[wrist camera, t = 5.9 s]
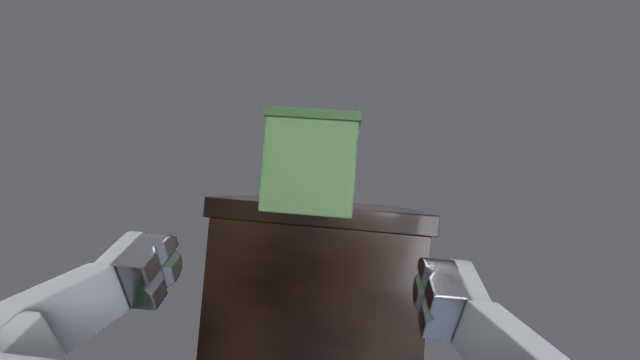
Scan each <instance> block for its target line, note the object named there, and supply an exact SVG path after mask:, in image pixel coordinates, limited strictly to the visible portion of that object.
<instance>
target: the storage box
mask: <svg viewBox="0 0 640 360" xmlns="http://www.w3.org/2000/svg"><path fill="white" fill-rule="evenodd" d="M263 114H264V116H265V117H266V123H265V135H264V148H263V159H262V170H261V183H260V193H259V205H258V210H259V211H263V212H275V213H287V214H299V215H311V216H323V217H335V218H347V219H351V218H352V213H353V198H354V186H355V172H356V158H357V143H358V131H359V127H360V125H361V121H362V112H358V111H341V110H325V109H308V108H290V107H274V106H264V111H263Z"/></svg>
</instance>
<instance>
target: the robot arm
mask: <svg viewBox="0 0 640 360" xmlns="http://www.w3.org/2000/svg"><path fill="white" fill-rule="evenodd" d="M177 246H178V242H177V239H176V237H175V236H172V235H164V234H156V233H146V232H145V233H144V232H135V231H130V232H127V233H126V234H124V235H123V236H122V237H121V238H120V239H119V240H118V241H117V242H116V243H115V244H114V245H112V246H111V247H110V248H109V249H108V250H107V251H106V252H105V253H104V254H103V255H102V256H100V257H99V258H98V259H97V260H96V261H95V262H94V263H93V264H91V263H87V264H85V265H83V266H81V267H78V268H76V269H74V270H71V271H69V272H67V273H64V274H62V275H60V276H58V277H55V278H53V279H51V280H49V281H46V282H44V283H42V284H40V285H37V286H35V287H32V288H30V289H28V290H26V291H24V292H21V293H19V294H16V295H14V296H12V297H10V298H7V299H5V300H3V301H1V302H0V360H68V358H67V356H66V355H67V354H69V353H70V352H72V351H73V350H74V349H76V348H77V347H79V346H80V345H81V344H83V343H84V342H86V341H87V340H88V339H90V338H91V337H92V336H94V335H95V334H97V333H98V332H100V331H101V330H103V329H104V328H105V327H107V326H108V325H110V324H111V323H112V322H114V321H115V320H117V319H118V318H119V317H121V316H122V315H124V314H125V313H126V312H128V311H129V310H130V308H132V309H145V310H157V308H158V307H159V305H160V304H161V302H162V301H163V300H164V298H165V297H166V295H167V287H169V286H171V285H172V284H174V283H175V282H176V280H177V279H178V277H179V275H180V272H181V269H182V258H181V255H180V254H179V253H178V252H177V251H176V250H175V249H176V248H177ZM417 268H418V272H419V274H418V275H416V276H415V277H414V282H413V301H414V306H415V307H416V309H417V310H418V311H419V315H418V324H419V328H420V332H421V337H422V339H429V340H437V341H444V342H451V345H452V346H453V347H454V348H455V350H456V351H457V352H458V353H459V355H460V356H461V357H462V358H463V359H464V360H570V359H569V358H567V357H566V356H565V355H564V354H562V353H561V352H560V351H559V350H557V349H556V348H555V347H553V346H552V345H551V344H549V343H548V342H547V341H546V340H544V339H543V338H542V337H541V336H539V335H538V334H537V333H535V332H534V331H533V330H532V329H530V328H529V327H528V326H526V325H525V324H524V323H523V322H521V321H520V320H519V319H518V318H516V317H515V316H514V315H512V314H511V313H510V312H508V311H507V310H506V309H505V308H503V307H502V306H501V305H499V304H498V303H494V302H492V301H491V299H490V297H489V295H488V293H487V291H486V289H485V287H484V286H483V284H482V281H481V280H480V278H479V276H478V274H477V272H476V270H475V268H474V266H473V264H472V262H470V261H468V260H449V259H437V258H425V257H420V259H419V261H418V265H417Z"/></svg>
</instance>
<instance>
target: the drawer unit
mask: <svg viewBox="0 0 640 360" xmlns="http://www.w3.org/2000/svg"><path fill="white" fill-rule="evenodd" d="M258 205H259V196H223V197H222V196H221V197H205V203H204V213H203V217H209V218H210V219H209V230H208V240H207V251H206V262H205V272H204V273H205V274H204V283H203V295H202V306H201V316H200V327H199V338H198V349H197V359H196V360H423V359H424V344H425V339H422V337H421V332H420V328H419V324H418V315H419V311H418V310H417V309H416V307H415V306H414V301H413V282H414V277H415V276H416V275H418V274H419V272H418V268H417V265H418V261H419V259H420V257H425V258H430V248H431V237H438V236H439V220H440V217H439V216H437V215H433V214H429V213H424V212H420V211H415V210H411V209H406V208H402V207H397V206H385V205H372V204H371V205H370V204H360V203H353V213H352V218H351V219H347V218H335V217H323V216H311V215H299V214H287V213H275V212H263V211H259V210H258Z"/></svg>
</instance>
